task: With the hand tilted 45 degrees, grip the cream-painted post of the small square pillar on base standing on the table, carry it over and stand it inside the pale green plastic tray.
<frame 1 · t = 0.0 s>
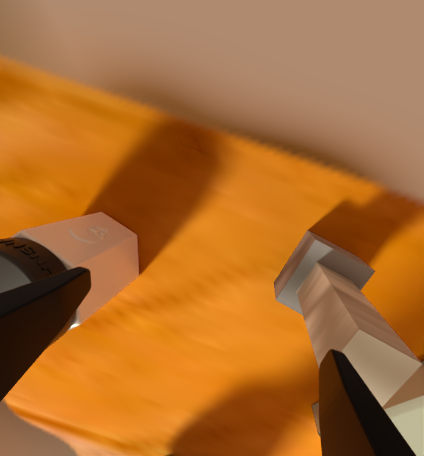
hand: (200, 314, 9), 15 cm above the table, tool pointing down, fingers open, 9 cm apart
square pillar on base: (314, 270, 23), on the table
tray: (422, 427, 25), on the table
jar: (106, 251, 27), on the table
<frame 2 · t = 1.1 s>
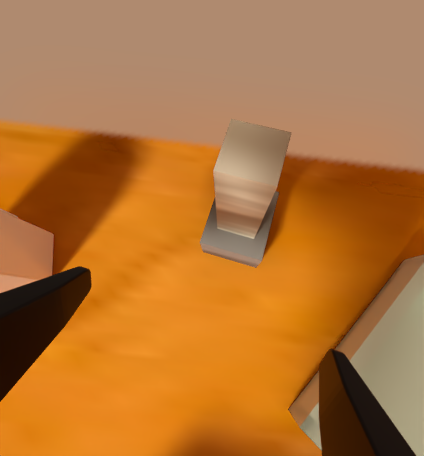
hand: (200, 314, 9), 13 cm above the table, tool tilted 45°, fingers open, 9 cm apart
square pillar on base: (238, 229, 24), on the table
tray: (422, 393, 19), on the table
jar: (14, 264, 24), on the table
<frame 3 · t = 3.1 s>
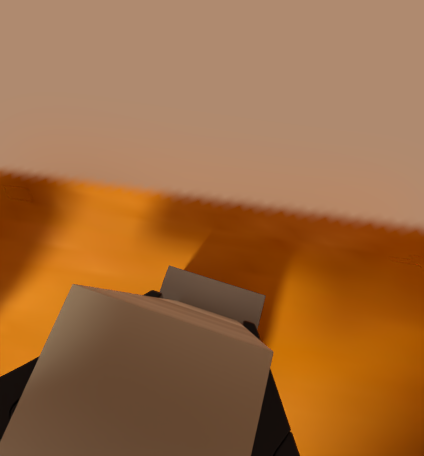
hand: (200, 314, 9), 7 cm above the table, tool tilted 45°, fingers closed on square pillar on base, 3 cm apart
square pillar on base: (202, 335, 15), on the table, touching gripper
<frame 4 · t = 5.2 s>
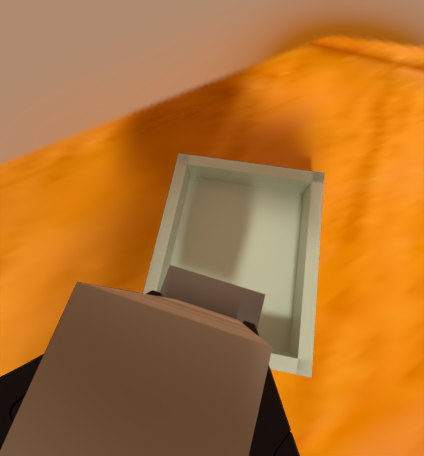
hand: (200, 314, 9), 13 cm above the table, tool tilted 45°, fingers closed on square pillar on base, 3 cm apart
square pillar on base: (203, 334, 15), point 7 cm above the table, touching gripper
tray: (234, 256, 23), on the table
when the fingers open (8 cm above the table, at t = 7.3 s): square pillar on base stays where it is, resting on tray.
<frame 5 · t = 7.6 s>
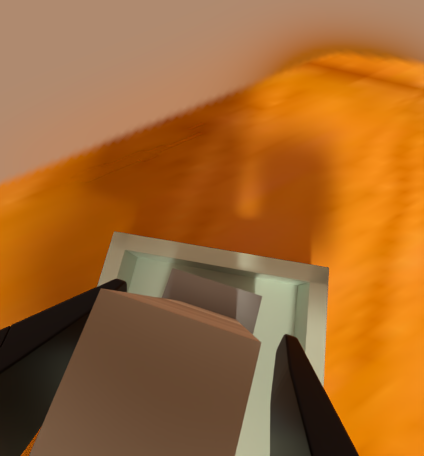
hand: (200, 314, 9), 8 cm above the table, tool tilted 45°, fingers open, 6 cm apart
square pillar on base: (203, 333, 16), point 1 cm above the table, touching tray
tray: (195, 384, 16), on the table
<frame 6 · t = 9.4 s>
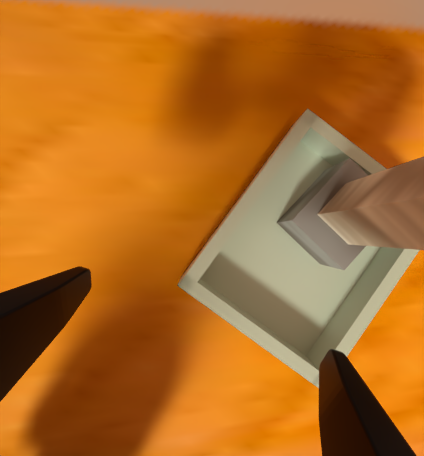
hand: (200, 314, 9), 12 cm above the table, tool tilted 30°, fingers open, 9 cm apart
square pillar on base: (322, 217, 21), point 1 cm above the table, touching tray
tray: (298, 246, 21), on the table
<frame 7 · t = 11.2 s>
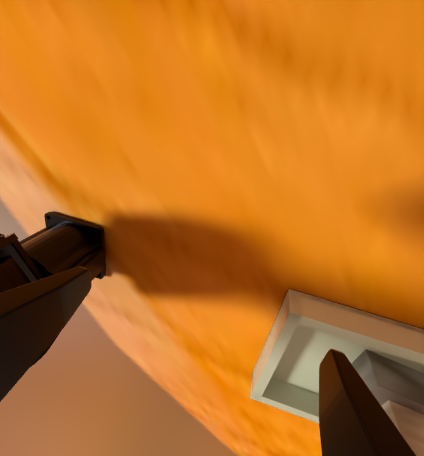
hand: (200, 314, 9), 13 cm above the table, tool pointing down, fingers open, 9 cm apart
square pillar on base: (380, 376, 24), point 1 cm above the table, touching tray
tray: (347, 361, 25), on the table
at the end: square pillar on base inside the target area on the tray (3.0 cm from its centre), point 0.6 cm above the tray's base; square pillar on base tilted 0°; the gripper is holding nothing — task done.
